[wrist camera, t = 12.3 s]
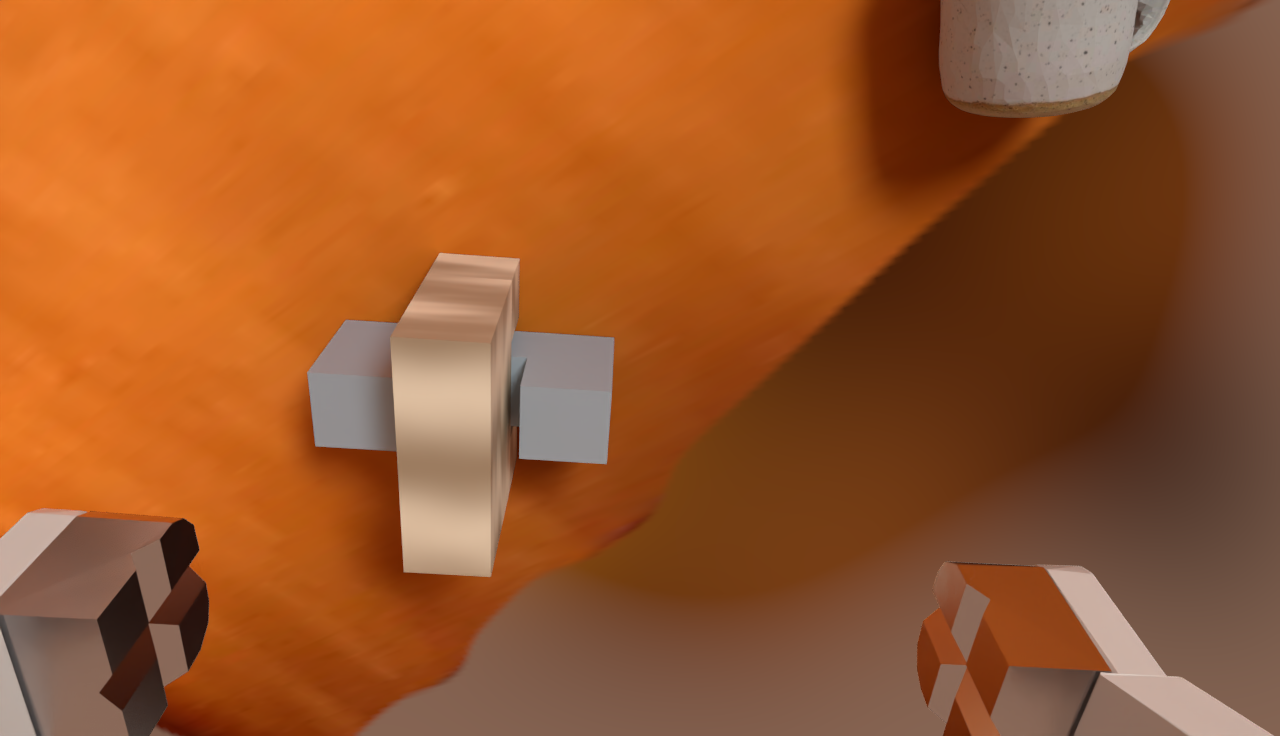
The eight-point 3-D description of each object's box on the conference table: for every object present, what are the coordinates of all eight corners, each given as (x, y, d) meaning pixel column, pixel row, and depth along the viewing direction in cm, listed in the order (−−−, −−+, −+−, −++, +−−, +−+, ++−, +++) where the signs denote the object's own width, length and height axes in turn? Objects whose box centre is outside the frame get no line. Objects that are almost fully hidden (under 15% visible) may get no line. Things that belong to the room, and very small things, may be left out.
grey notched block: (351, 387, 47) (315, 446, 42) (345, 319, 45) (307, 372, 40) (609, 403, 48) (606, 463, 42) (614, 337, 46) (611, 392, 40)
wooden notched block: (516, 459, 49) (490, 576, 40) (445, 454, 49) (403, 572, 40) (519, 258, 44) (490, 343, 35) (439, 253, 44) (390, 336, 35)
